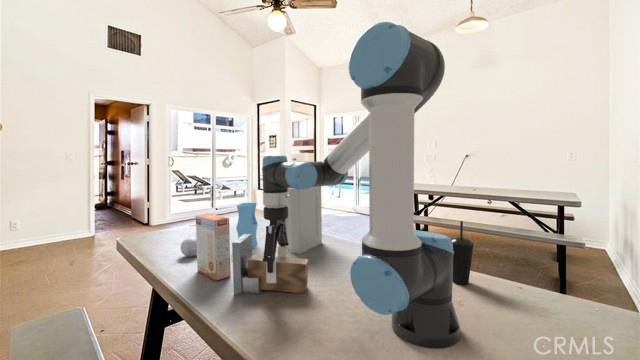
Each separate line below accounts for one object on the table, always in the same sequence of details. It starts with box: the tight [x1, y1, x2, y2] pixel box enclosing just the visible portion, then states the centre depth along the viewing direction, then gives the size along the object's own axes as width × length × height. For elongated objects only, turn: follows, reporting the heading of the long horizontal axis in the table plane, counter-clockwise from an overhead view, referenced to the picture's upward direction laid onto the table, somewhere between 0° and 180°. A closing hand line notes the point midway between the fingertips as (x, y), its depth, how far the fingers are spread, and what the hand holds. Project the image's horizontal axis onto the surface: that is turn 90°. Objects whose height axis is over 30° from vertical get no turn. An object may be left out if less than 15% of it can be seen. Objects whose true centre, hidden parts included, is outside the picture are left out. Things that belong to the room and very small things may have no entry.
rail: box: [248, 254, 309, 294], centre depth 91 cm, size 18×4×9 cm, turn 84°
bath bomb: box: [180, 237, 197, 258], centre depth 124 cm, size 8×8×8 cm
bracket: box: [231, 234, 263, 296], centre depth 91 cm, size 10×7×16 cm
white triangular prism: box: [285, 186, 323, 255], centre depth 136 cm, size 19×15×28 cm
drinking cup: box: [449, 220, 476, 286], centre depth 94 cm, size 8×8×20 cm
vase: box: [236, 202, 258, 249], centre depth 137 cm, size 8×8×20 cm
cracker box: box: [195, 213, 232, 282], centre depth 103 cm, size 14×6×21 cm, turn 47°
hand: (277, 273), depth 91 cm, fingers open, 13 cm apart
